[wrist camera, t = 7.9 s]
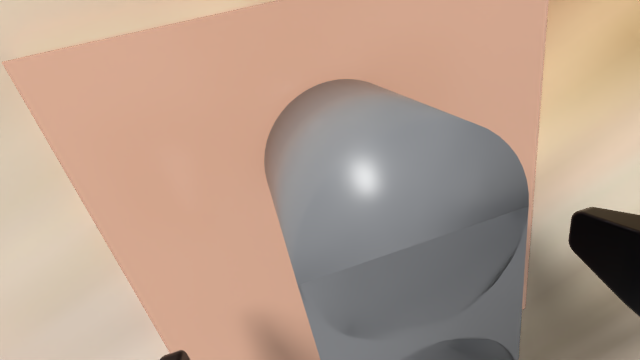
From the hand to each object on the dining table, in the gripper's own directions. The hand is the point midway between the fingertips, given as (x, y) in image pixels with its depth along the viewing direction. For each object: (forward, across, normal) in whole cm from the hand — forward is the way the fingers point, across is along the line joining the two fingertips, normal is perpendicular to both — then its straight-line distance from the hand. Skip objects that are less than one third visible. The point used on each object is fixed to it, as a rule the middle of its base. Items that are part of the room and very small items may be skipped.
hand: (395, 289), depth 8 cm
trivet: (+3, 0, 0) cm, 3 cm away
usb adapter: (+3, 0, 0) cm, 3 cm away
